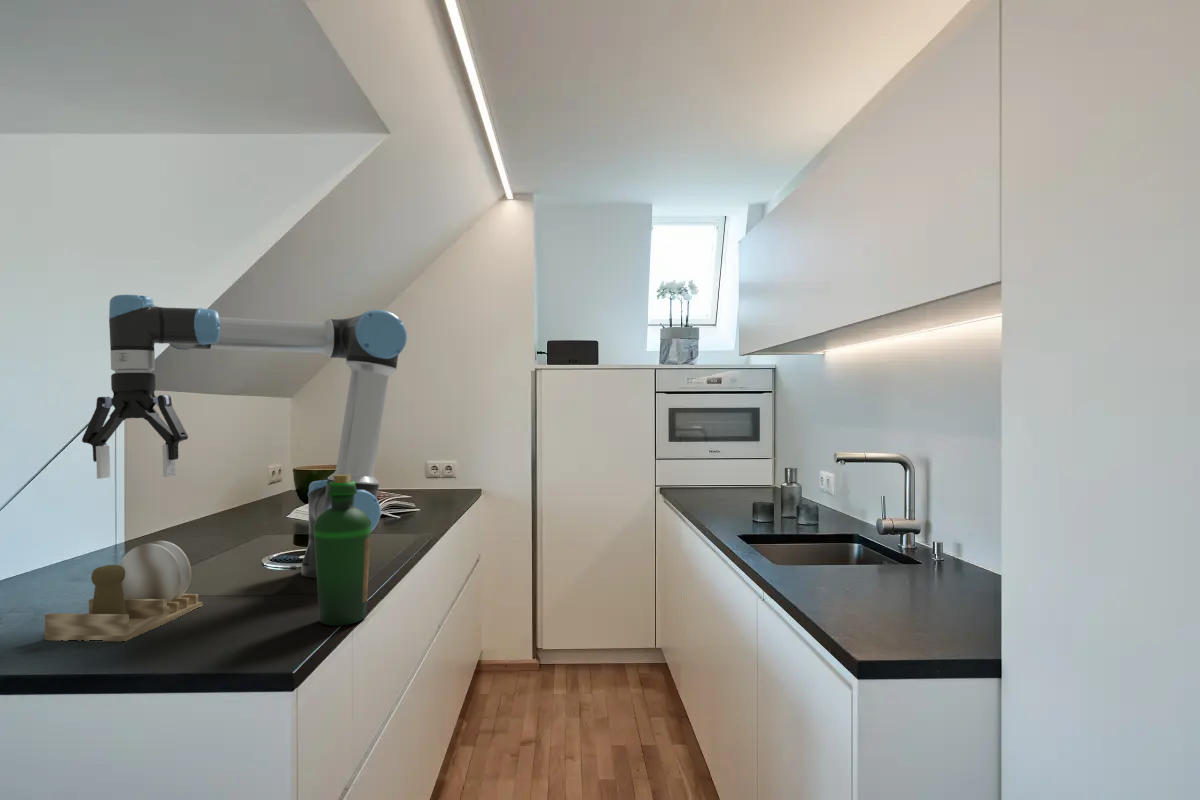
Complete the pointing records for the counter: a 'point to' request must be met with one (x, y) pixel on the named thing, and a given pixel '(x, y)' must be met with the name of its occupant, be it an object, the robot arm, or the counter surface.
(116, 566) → the cork
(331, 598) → the bottle
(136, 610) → the rack
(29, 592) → the counter surface
